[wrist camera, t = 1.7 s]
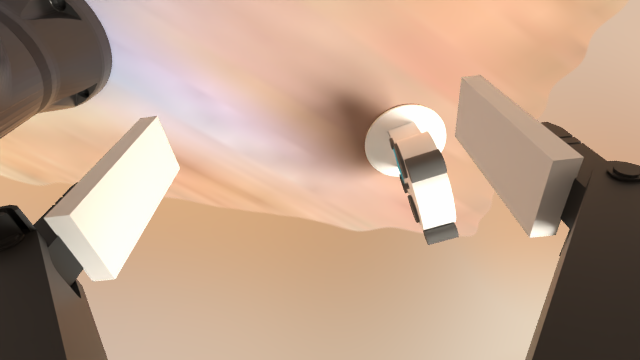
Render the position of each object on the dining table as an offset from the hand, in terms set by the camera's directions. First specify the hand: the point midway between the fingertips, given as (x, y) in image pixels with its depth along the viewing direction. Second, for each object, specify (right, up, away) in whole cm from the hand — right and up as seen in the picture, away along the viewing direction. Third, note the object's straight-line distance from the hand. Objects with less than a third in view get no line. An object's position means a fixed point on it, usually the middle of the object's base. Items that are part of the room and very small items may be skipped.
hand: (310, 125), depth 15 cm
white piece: (+12, +3, +33) cm, 36 cm away
